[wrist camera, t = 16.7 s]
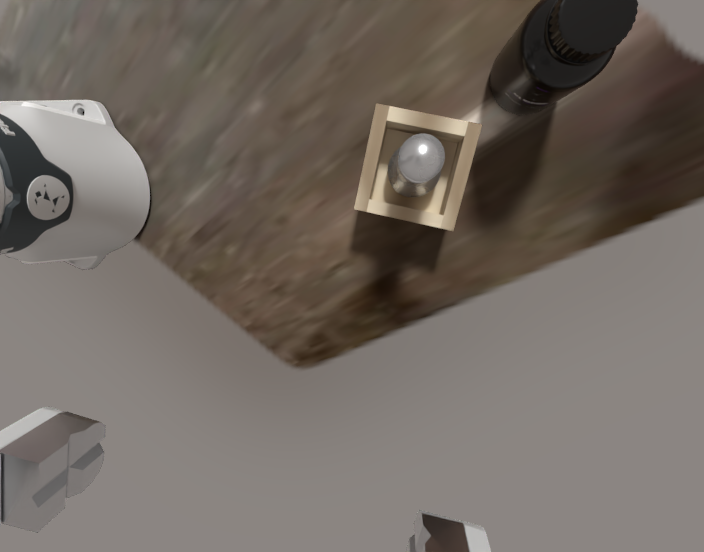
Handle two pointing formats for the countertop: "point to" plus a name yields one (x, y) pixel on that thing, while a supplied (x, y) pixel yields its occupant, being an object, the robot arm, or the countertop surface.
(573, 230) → the countertop surface
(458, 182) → the open wooden box
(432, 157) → the metal coffee tamper
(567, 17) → the supplement bottle
